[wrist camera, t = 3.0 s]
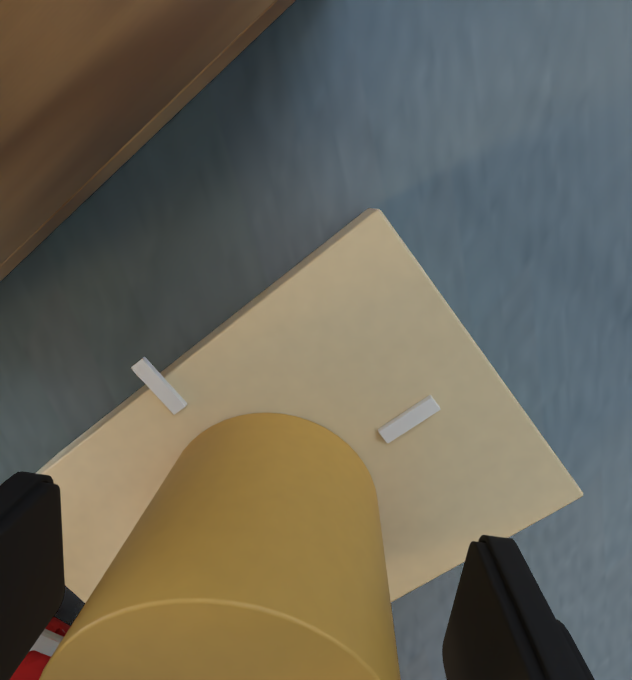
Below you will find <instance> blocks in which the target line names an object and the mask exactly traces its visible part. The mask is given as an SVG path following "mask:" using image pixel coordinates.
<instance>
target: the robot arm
mask: <svg viewBox="0 0 632 680" xmlns="http://www.w3.org/2000/svg"><path fill="white" fill-rule="evenodd" d="M64 593H65V578H64V558H63V537H62V517H61V496H60V487H59V486H58V485H57V484H54V482H53V479H52V477H51V476H49V475H44V474H36V473H29V472H17V473H16V474H14V475H12V476H11V477H10V478H9V479H8V480H6V481H5V482H4V483H3V484H2V485H0V680H10V678H11V677H12V675H13V674H14V672H15V671H16V670H17V668H18V667H19V665H20V664H21V662H22V661H23V660H24V658H25V657H26V655H27V654H28V652H29V651H30V649H31V648H32V647H33V645H34V644H35V642H36V641H37V639H38V638H39V637H40V635H41V634H42V632H43V631H44V629H45V628H46V627H47V625H48V624H49V622H50V621H51V619H52V618H53V616H54V615H55V614H56V612H57V611H58V609H59V607H60V605H61V603H62V600H63V597H64ZM442 654H443V664H444V669H445V673H446V678H447V680H595V679H594V678H593V676H592V674H591V672H590V670H589V668H588V666H587V665H586V663H585V661H584V659H583V657H582V655H581V653H580V652H579V650H578V648H577V646H576V644H575V642H574V640H573V639H572V637H571V635H570V633H569V632H568V630H567V629H566V627H565V626H564V624H562V623H561V622H560V621H559V620H556V618H555V616H554V615H553V613H552V611H551V609H550V607H549V605H548V603H547V601H546V599H545V597H544V596H543V594H542V592H541V590H540V588H539V586H538V584H537V582H536V580H535V578H534V576H533V575H532V573H531V571H530V569H529V567H528V565H527V563H526V561H525V559H524V557H523V555H522V554H521V552H520V550H519V548H518V546H517V544H516V543H515V541H514V540H513V539H511V538H504V537H497V536H489V535H481V537H480V538H479V540H478V542H476V541H472V542H471V543H470V545H469V548H468V552H467V555H466V559H465V563H464V567H463V570H462V574H461V578H460V582H459V585H458V589H457V593H456V596H455V600H454V604H453V608H452V611H451V615H450V619H449V623H448V626H447V630H446V634H445V637H444V641H443V649H442Z"/></svg>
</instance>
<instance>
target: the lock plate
mask: <svg viewBox="0 0 632 680" xmlns="http://www.w3.org/2000/svg"><path fill="white" fill-rule="evenodd" d="M131 369H132V370H133V371H134V372H135V373H136V374H137V375H138V377H139V378H140V379H141V380H142V381H143V382H144V383H145V385H144V386H143V387H141V388H140V389H139V390H137V391H136V392H135V393H134V394H132V395H131V396H130V397H129V398H127V399H126V400H125V401H124V402H122V403H121V404H120V405H118V406H117V407H116V408H115V409H113V410H112V411H111V412H110V413H108V414H107V415H106V416H105V417H103V418H102V419H101V420H99V421H98V422H97V423H96V424H94V425H93V426H92V427H91V428H89V429H88V430H87V431H86V432H84V433H83V434H82V435H81V436H79V437H78V438H77V439H75V440H74V441H73V442H72V443H70V444H69V445H68V446H67V447H65V448H64V449H63V450H62V451H60V452H59V453H58V454H57V455H56V456H54V457H53V458H52V459H51V460H50V461H49V462H48V463H46V464H45V465H44V466H43V467H42V468H41V469H40V470H38V471H37V472H36V474H44V475H49V476H51V477H52V479H53V482H54V484H57V485H58V486H59V487H60V496H61V517H62V537H63V558H64V578H65V585H66V586H67V587H68V588H69V589H70V590H71V591H72V592H73V593H74V594H76V595H77V596H78V597H79V598H80V599H81V600H82V601H83V602H84V603H86V602H87V600H88V599H89V597H90V595H91V594H92V592H93V591H94V589H95V588H96V586H97V585H98V583H99V581H100V580H101V578H102V577H103V575H104V574H105V572H106V570H107V569H108V567H109V566H110V564H111V563H112V561H113V560H114V558H115V556H116V555H117V553H118V552H119V550H120V549H121V547H122V545H123V544H124V542H125V541H126V539H127V538H128V536H129V534H130V533H131V531H132V530H133V528H134V527H135V525H136V524H137V522H138V520H139V519H140V517H141V516H142V514H143V513H144V511H145V509H146V508H147V506H148V505H149V503H150V502H151V500H152V499H153V497H154V495H155V494H156V492H157V491H158V489H159V488H160V486H161V484H162V483H163V481H164V480H165V478H166V477H167V475H168V474H169V472H170V470H171V469H172V467H173V466H174V464H175V463H176V461H177V459H178V458H179V456H180V455H181V453H182V452H183V450H184V449H185V448H186V447H187V446H188V445H189V443H190V442H191V441H192V440H193V439H195V438H196V437H197V436H198V435H199V434H201V433H202V432H203V431H205V430H207V429H208V428H210V427H211V426H213V425H215V424H217V423H220V422H222V421H224V420H227V419H230V418H233V417H236V416H240V415H246V414H252V413H280V414H287V415H292V416H297V417H300V418H303V419H306V420H309V421H312V422H314V423H316V424H318V425H321V426H323V427H325V428H326V429H328V430H330V431H331V432H333V433H334V434H336V435H337V436H339V437H340V438H341V439H342V440H343V441H345V442H346V443H347V444H348V445H349V446H350V447H351V448H352V449H353V450H354V451H355V452H356V453H357V454H358V456H359V457H360V459H361V460H362V461H363V463H364V464H365V466H366V468H367V469H368V471H369V473H370V475H371V478H372V480H373V483H374V486H375V489H376V495H377V500H378V507H379V515H380V523H381V531H382V538H383V546H384V554H385V562H386V570H387V577H388V585H389V593H390V601H391V602H392V601H394V600H396V599H398V598H400V597H402V596H403V595H405V594H407V593H409V592H411V591H412V590H414V589H416V588H418V587H420V586H421V585H423V584H425V583H427V582H429V581H430V580H432V579H434V578H436V577H438V576H440V575H441V574H443V573H445V572H447V571H449V570H450V569H452V568H454V567H456V566H458V565H459V564H461V563H463V562H465V559H466V555H467V552H468V548H469V545H470V543H471V542H472V541H476V542H478V540H479V538H480V537H481V535H489V536H497V537H504V538H508V537H510V536H512V535H514V534H516V533H517V532H519V531H521V530H523V529H525V528H526V527H528V526H530V525H532V524H534V523H535V522H537V521H539V520H541V519H543V518H544V517H546V516H548V515H550V514H552V513H554V512H555V511H557V510H559V509H561V508H563V507H564V506H566V505H568V504H570V503H572V502H573V501H575V500H577V499H579V498H581V497H582V496H583V492H582V491H581V489H580V488H579V486H578V485H577V484H576V482H575V481H574V479H573V478H572V477H571V475H570V474H569V472H568V471H567V470H566V468H565V467H564V465H563V464H562V463H561V461H560V460H559V458H558V457H557V456H556V454H555V453H554V451H553V450H552V449H551V447H550V446H549V444H548V443H547V442H546V440H545V439H544V437H543V436H542V435H541V433H540V432H539V430H538V429H537V428H536V426H535V425H534V423H533V422H532V421H531V419H530V418H529V416H528V415H527V414H526V412H525V411H524V409H523V408H522V407H521V405H520V404H519V403H518V401H517V400H516V398H515V397H514V396H513V394H512V393H511V391H510V390H509V389H508V387H507V386H506V384H505V383H504V382H503V380H502V379H501V377H500V376H499V375H498V373H497V372H496V370H495V369H494V368H493V366H492V365H491V363H490V362H489V361H488V359H487V358H486V356H485V355H484V354H483V352H482V351H481V349H480V348H479V347H478V345H477V344H476V342H475V341H474V340H473V338H472V337H471V335H470V334H469V333H468V331H467V330H466V328H465V327H464V326H463V324H462V323H461V321H460V320H459V319H458V317H457V316H456V314H455V313H454V312H453V310H452V309H451V307H450V306H449V305H448V303H447V302H446V300H445V299H444V298H443V296H442V295H441V294H440V292H439V291H438V289H437V288H436V287H435V285H434V284H433V282H432V281H431V280H430V278H429V277H428V275H427V274H426V273H425V271H424V270H423V268H422V267H421V266H420V264H419V263H418V261H417V260H416V259H415V257H414V256H413V254H412V253H411V252H410V250H409V249H408V247H407V246H406V245H405V243H404V242H403V240H402V239H401V238H400V236H399V235H398V233H397V232H396V231H395V229H394V228H393V226H392V225H391V224H390V222H389V221H388V219H387V218H386V217H385V215H384V214H383V212H382V211H381V210H380V209H373V208H368V209H367V210H365V211H364V212H363V213H362V214H360V215H359V216H358V217H356V218H355V219H354V220H353V221H351V222H350V223H349V224H348V225H346V226H345V227H344V228H343V229H341V230H340V231H339V232H337V233H336V234H335V235H334V236H332V237H331V238H330V239H329V240H327V241H326V242H325V243H324V244H322V245H321V246H320V247H318V248H317V249H316V250H315V251H313V252H312V253H311V254H310V255H308V256H307V257H306V258H305V259H303V260H302V261H301V262H299V263H298V264H297V265H296V266H294V267H293V268H292V269H291V270H289V271H288V272H287V273H286V274H284V275H283V276H282V277H280V278H279V279H278V280H277V281H275V282H274V283H273V284H272V285H270V286H269V287H268V288H267V289H265V290H264V291H263V292H262V293H260V294H259V295H258V296H256V297H255V298H254V299H253V300H251V301H250V302H249V303H248V304H246V305H245V306H244V307H243V308H241V309H240V310H239V311H237V312H236V313H235V314H234V315H232V316H231V317H230V318H229V319H227V320H226V321H225V322H224V323H222V324H221V325H220V326H218V327H217V328H216V329H215V330H213V331H212V332H211V333H210V334H208V335H207V336H206V337H205V338H203V339H202V340H201V341H199V342H198V343H197V344H196V345H194V346H193V347H192V348H191V349H189V350H188V351H187V352H186V353H184V354H183V355H182V356H180V357H179V358H178V359H177V360H175V361H174V362H173V363H172V364H170V365H169V366H168V367H167V368H165V369H164V370H163V371H162V372H160V373H159V372H158V371H157V370H156V368H155V367H154V366H153V365H152V364H151V363H150V362H149V361H148V360H147V359H146V357H143V358H142V359H141V360H140V361H138V362H137V363H136V364H135V365H133V366H132V367H131Z"/></svg>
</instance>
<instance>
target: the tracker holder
mask: <svg viewBox="0 0 632 680" xmlns="http://www.w3.org/2000/svg"><path fill="white" fill-rule="evenodd" d="M70 627H71V626H70V625H68V624H66V623H64V622H63V621H61V620H59V619H57V618H55V617H53V618H52V619H51V621H50V622H49V624H48V625H47V627H46V628H45V629H44V631H43V632H42V634H41V635H40V637H39V638H38V639H37V641H36V642H35V644H34V645H33V647H32V648H31V649H30V651H29V652H28V654H27V655H26V657H25V658H24V660H23V661H22V662H21V664H20V665H19V667H18V668H17V670H16V671H15V672H14V674H13V675H12V677H11V678H10V680H39V679H40V676H41V674H42V671H43V669H44V667H45V666H46V664H47V663H48V661H49V660H50V658H51V656H52V655H53V653H54V652H55V650H56V649H57V647H58V645H59V644H60V642H61V641H62V639H63V638H64V636H65V635H66V633H67V631H68V630H69V628H70Z"/></svg>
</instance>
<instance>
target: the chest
mask: <svg viewBox="0 0 632 680" xmlns="http://www.w3.org/2000/svg"><path fill="white" fill-rule="evenodd" d="M295 1H296V0H0V281H1V280H2V279H3V278H5V277H6V276H7V275H8V274H9V273H10V272H11V271H12V270H13V269H14V268H15V267H16V266H17V265H18V264H19V263H20V262H21V261H22V260H23V259H24V258H26V257H27V256H28V255H29V254H30V253H31V252H32V251H33V250H34V249H35V248H36V247H37V246H38V245H39V244H40V243H41V242H42V241H43V240H44V239H46V238H47V237H48V236H49V235H50V234H51V233H52V232H53V231H54V230H55V229H56V228H57V227H58V226H59V225H60V224H61V223H62V222H63V221H64V220H65V219H67V218H68V217H69V216H70V215H71V214H72V213H73V212H74V211H75V210H76V209H77V208H78V207H79V206H80V205H81V204H82V203H83V202H84V201H85V200H86V199H88V198H89V197H90V196H91V195H92V194H93V193H94V192H95V191H96V190H97V189H98V188H99V187H100V186H101V185H102V184H103V183H104V182H105V181H106V180H108V179H109V178H110V177H111V176H112V175H113V174H114V173H115V172H116V171H117V170H118V169H119V168H120V167H121V166H122V165H123V164H124V163H125V162H126V161H127V160H129V159H130V158H131V157H132V156H133V155H134V154H135V153H136V152H137V151H138V150H139V149H140V148H141V147H142V146H143V145H144V144H145V143H146V142H147V141H148V140H150V139H151V138H152V137H153V136H154V135H155V134H156V133H157V132H158V131H159V130H160V129H161V128H162V127H163V126H164V125H165V124H166V123H167V122H168V121H170V120H171V119H172V118H173V117H174V116H175V115H176V114H177V113H178V112H179V111H180V110H181V109H182V108H183V107H184V106H185V105H186V104H187V103H188V102H189V101H191V100H192V99H193V98H194V97H195V96H196V95H197V94H198V93H199V92H200V91H201V90H202V89H203V88H204V87H205V86H206V85H207V84H208V83H209V82H210V81H212V80H213V79H214V78H215V77H216V76H217V75H218V74H219V73H220V72H221V71H222V70H223V69H224V68H225V67H226V66H227V65H228V64H229V63H230V62H232V61H233V60H234V59H235V58H236V57H237V56H238V55H239V54H240V53H241V52H242V51H243V50H244V49H245V48H246V47H247V46H248V45H249V44H250V43H251V42H253V41H254V40H255V39H256V38H257V37H258V36H259V35H260V34H261V33H262V32H263V31H264V30H265V29H266V28H267V27H268V26H269V25H270V24H271V23H272V22H274V21H275V20H276V19H277V18H278V17H279V16H280V15H281V14H282V13H283V12H284V11H285V10H286V9H287V8H288V7H289V6H290V5H291V4H292V3H294V2H295Z"/></svg>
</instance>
